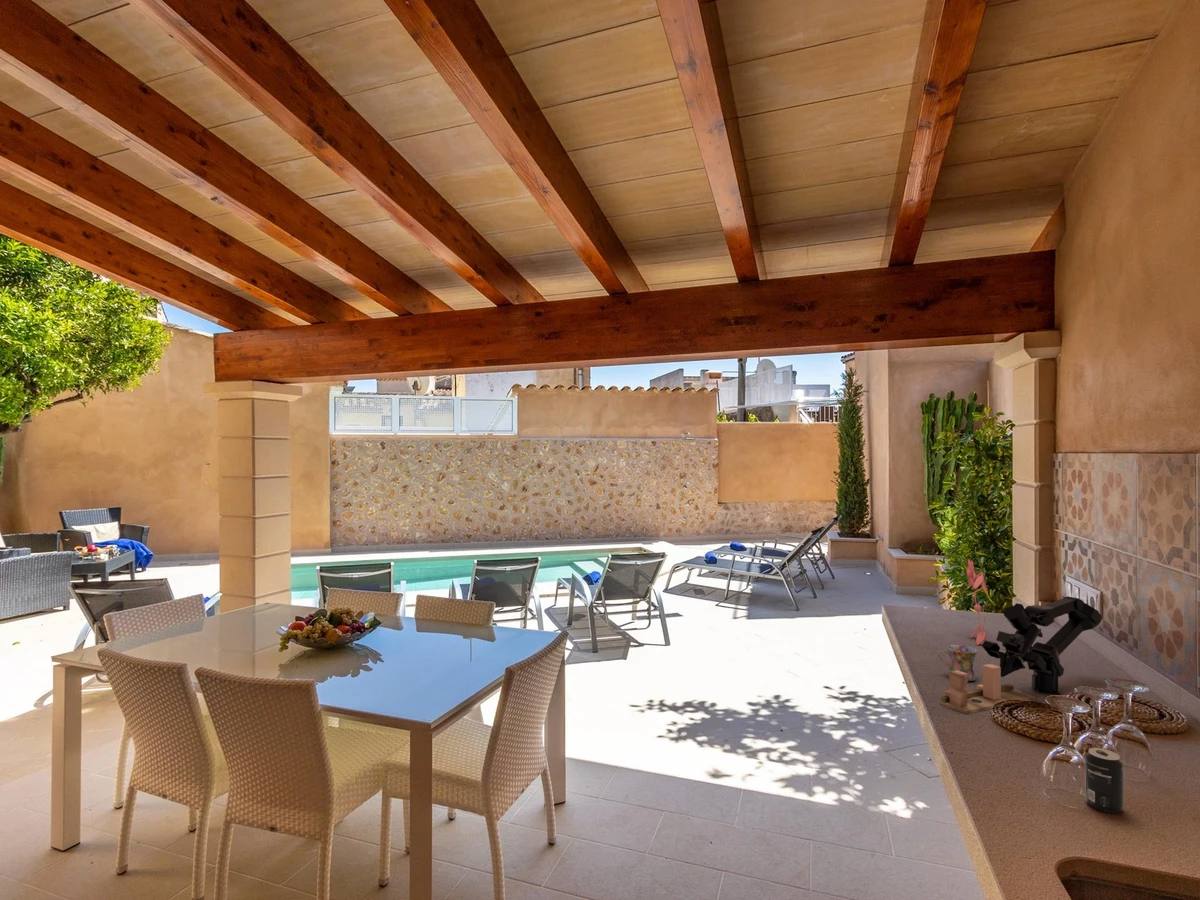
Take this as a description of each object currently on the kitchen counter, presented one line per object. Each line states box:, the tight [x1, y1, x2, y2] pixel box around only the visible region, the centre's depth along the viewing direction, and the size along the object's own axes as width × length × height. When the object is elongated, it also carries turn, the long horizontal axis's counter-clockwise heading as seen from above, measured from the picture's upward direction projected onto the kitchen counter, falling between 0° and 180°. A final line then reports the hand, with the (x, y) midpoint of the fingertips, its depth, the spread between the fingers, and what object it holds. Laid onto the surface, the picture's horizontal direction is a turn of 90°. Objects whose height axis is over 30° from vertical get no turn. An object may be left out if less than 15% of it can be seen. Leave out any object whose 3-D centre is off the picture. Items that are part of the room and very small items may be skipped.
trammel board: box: [939, 670, 1036, 715], centre depth 209 cm, size 32×9×11 cm, turn 112°
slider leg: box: [976, 663, 1002, 700], centre depth 211 cm, size 4×6×10 cm, turn 22°
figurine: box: [965, 558, 989, 646], centre depth 280 cm, size 15×26×35 cm, turn 158°
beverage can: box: [1084, 747, 1125, 814], centre depth 146 cm, size 7×7×12 cm
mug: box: [938, 644, 978, 682], centre depth 232 cm, size 12×9×11 cm
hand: (1000, 675), depth 212 cm, fingers closed
